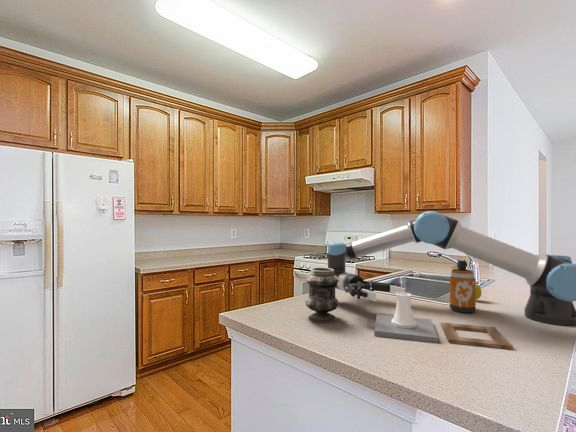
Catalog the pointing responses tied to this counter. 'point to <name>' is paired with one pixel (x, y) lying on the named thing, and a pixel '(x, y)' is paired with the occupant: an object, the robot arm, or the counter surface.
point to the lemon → (478, 292)
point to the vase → (403, 311)
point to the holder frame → (452, 337)
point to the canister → (462, 289)
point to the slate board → (405, 329)
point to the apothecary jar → (322, 294)
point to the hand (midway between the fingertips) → (390, 294)
